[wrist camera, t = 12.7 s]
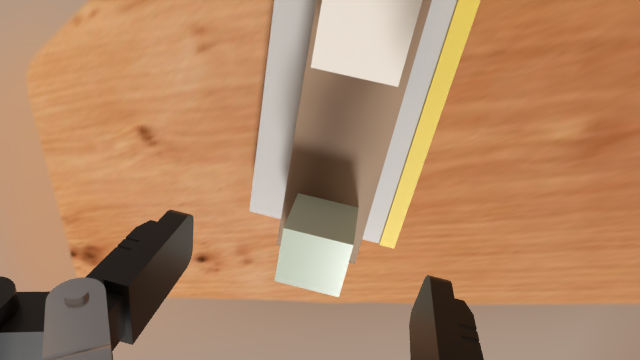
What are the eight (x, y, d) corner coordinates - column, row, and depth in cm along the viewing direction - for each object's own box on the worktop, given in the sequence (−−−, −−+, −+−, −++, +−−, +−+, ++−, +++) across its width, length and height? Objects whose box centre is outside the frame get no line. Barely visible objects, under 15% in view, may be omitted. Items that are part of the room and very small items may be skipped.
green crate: (358, 207, 26) (353, 245, 22) (345, 255, 28) (338, 297, 24) (298, 193, 26) (283, 228, 22) (289, 241, 28) (274, 281, 24)
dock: (480, -32, 25) (491, -32, 22) (393, 225, 35) (394, 248, 32) (294, -70, 26) (282, -75, 23) (260, 193, 35) (248, 212, 32)
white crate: (419, -15, 19) (425, -11, 16) (396, 67, 21) (397, 87, 18) (338, -32, 20) (327, -32, 16) (323, 51, 22) (310, 67, 18)
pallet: (430, -24, 23) (438, -23, 19) (359, 227, 32) (354, 263, 28) (335, -44, 23) (324, -47, 19) (290, 210, 32) (276, 244, 28)
